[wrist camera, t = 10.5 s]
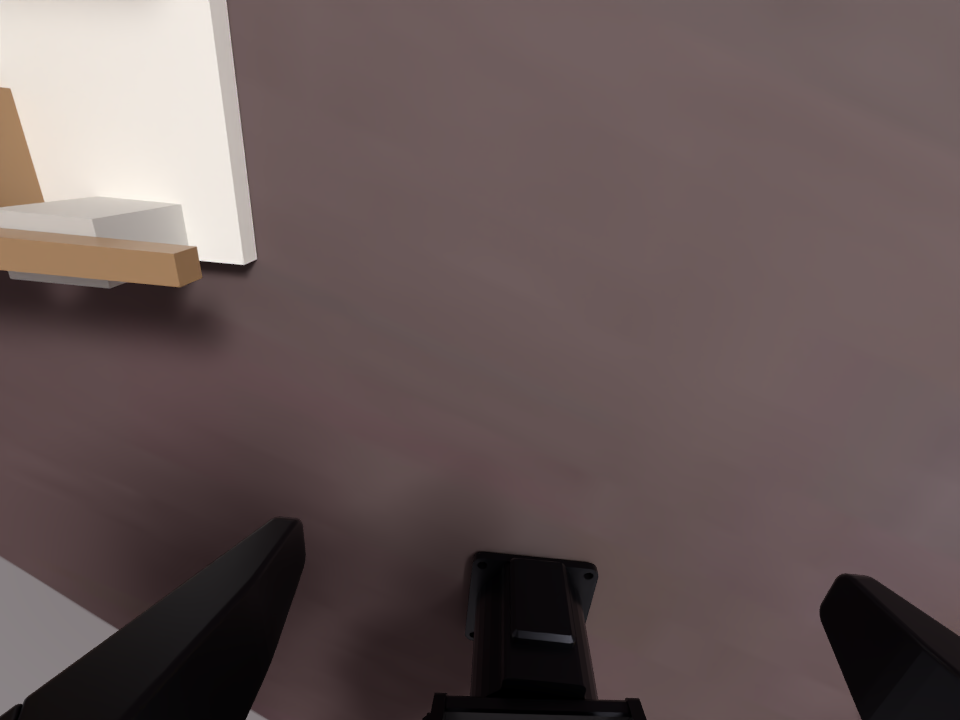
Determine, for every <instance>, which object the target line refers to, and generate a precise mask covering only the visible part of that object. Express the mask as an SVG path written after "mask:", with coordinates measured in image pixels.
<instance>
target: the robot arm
mask: <svg viewBox="0 0 960 720" xmlns="http://www.w3.org/2000/svg"><path fill="white" fill-rule="evenodd" d="M305 557H306V552H305V542H304V533H303V524H302V522H301V520H300V519H298V518H290V517H280V516H279V517H275V518H273V519H271V520H270V521H268V522H267V523H266V524H264V525H263V526H262V527H260V528H259V529H257V530H256V531H255V532H253V533H252V534H251V535H249V536H248V537H246V538H245V539H244V540H242V541H241V542H240V543H238V544H237V545H235V546H234V547H233V548H231V549H230V550H229V551H227V552H226V553H224V554H223V555H222V556H220V557H219V558H218V559H216V560H215V561H213V562H212V563H211V564H209V565H208V566H207V567H205V568H204V569H202V570H201V571H200V572H198V573H197V574H196V575H194V576H193V577H191V578H190V579H189V580H187V581H186V582H185V583H183V584H182V585H180V586H179V587H178V588H176V589H175V590H174V591H172V592H171V593H169V594H168V595H167V596H165V597H164V598H163V599H161V600H160V601H158V602H157V603H156V604H154V605H153V606H152V607H150V608H149V609H147V610H146V611H145V612H143V613H142V614H141V615H139V616H138V617H136V618H135V619H134V620H132V621H131V622H130V623H128V624H127V625H125V626H124V627H123V628H121V629H120V630H119V631H117V632H116V633H114V634H113V635H112V636H110V637H109V638H108V639H106V640H105V641H103V642H102V643H101V644H99V645H98V646H97V647H95V648H94V649H93V650H91V651H90V652H88V653H87V654H86V655H84V656H83V657H82V658H80V659H79V660H77V661H76V662H75V663H73V664H72V665H70V666H69V667H68V668H66V669H65V670H63V671H62V672H61V673H59V674H58V675H57V676H55V677H54V678H53V679H51V680H50V681H48V682H47V683H46V684H44V685H43V686H42V687H40V688H39V689H38V690H36V691H35V692H33V693H32V694H31V695H29V696H28V697H27V698H26V699H25V700H24V702H23V705H22V704H17V705H15V706H14V707H12V708H11V709H9V710H8V711H7V712H5V713H4V714H3V715H1V716H0V720H246V718H247V715H248V713H249V711H250V709H251V707H252V704H253V702H254V700H255V698H256V696H257V693H258V691H259V689H260V687H261V685H262V682H263V680H264V678H265V675H266V673H267V671H268V668H269V666H270V664H271V661H272V658H273V655H274V653H275V650H276V647H277V644H278V641H279V638H280V635H281V633H282V630H283V627H284V624H285V621H286V618H287V615H288V612H289V609H290V606H291V603H292V600H293V597H294V594H295V591H296V589H297V586H298V583H299V580H300V577H301V574H302V571H303V568H304V564H305ZM482 562H484V563H482ZM597 580H598V571H597V568H596V566H595V565H594V564H592V563H586V562H576V561H566V560H556V559H546V558H536V557H526V556H517V555H507V554H497V553H487V552H479V553H477V554H475V555H474V557H473V564H472V573H471V582H470V592H469V601H468V610H467V619H466V628H465V636H466V637H467V638H468V639H469V640H473V641H474V643H473V659H472V675H471V691H470V696H448V695H447V693H435V694H434V699H433V704H432V709H431V713H427V716H425V717H424V718H423V720H647V719H646V717H645V714H644V711H643V708H642V705H641V702H640V700H639V698H625V700H598V696H597V690H596V684H595V678H594V673H593V667H592V661H591V655H590V649H589V643H588V638H587V632H586V626H585V623H586V620H587V616H588V612H589V609H590V605H591V602H592V598H593V594H594V591H595V587H596V583H597ZM820 619H821V622H822V625H823V627H824V630H825V632H826V634H827V637H828V639H829V642H830V644H831V647H832V649H833V651H834V654H835V656H836V659H837V661H838V664H839V666H840V668H841V671H842V673H843V676H844V678H845V681H846V683H847V685H848V688H849V690H850V693H851V695H852V698H853V700H854V702H855V705H856V707H857V710H858V712H859V714H860V716H861V719H862V720H960V636H958V635H957V634H955V633H954V632H952V631H951V630H949V629H948V628H946V627H945V626H943V625H942V624H940V623H939V622H937V621H936V620H934V619H933V618H932V617H930V616H929V615H927V614H926V613H924V612H923V611H921V610H920V609H918V608H917V607H915V606H914V605H912V604H911V603H909V602H908V601H906V600H905V599H903V598H902V597H900V596H899V595H897V594H896V593H894V592H893V591H891V590H890V589H888V588H887V587H886V586H884V585H883V584H881V583H880V582H878V581H877V580H875V579H873V578H871V577H869V576H865V575H856V574H846V573H845V574H841V575H839V576H838V577H837V578H836V579H835V581H834V583H833V584H832V586H831V588H830V589H829V591H828V593H827V595H826V596H825V598H824V600H823V601H822V603H821V605H820Z"/></svg>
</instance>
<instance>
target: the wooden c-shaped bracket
mask: <svg viewBox="0 0 960 720" xmlns="http://www.w3.org/2000/svg"><path fill="white" fill-rule="evenodd" d="M43 202H44V199H43V195H42V192H41V189H40V185H39V182H38V179H37V175H36V172H35V169H34V165H33V162H32V159H31V155H30V152H29V149H28V145H27V142H26V139H25V135H24V132H23V129H22V125H21V122H20V119H19V115H18V112H17V109H16V105H15V102H14V99H13V95H12V92H11V89H10V88H3V87H0V207H7V206H16V205H25V204H34V203H43ZM0 270H5V271H16V272H26V273H37V274H47V275H58V276H68V277H79V278H89V279H99V280H110V281H120V282H131V283H141V284H152V285H162V286H173V287H182V286H184V285H187V284H189V283H191V282H194V281H196V280H198V279H201V278H202V273H201V268H200V262H199V256H198V250H197V246H186V245H176V244H165V243H155V242H144V241H134V240H123V239H113V238H102V237H92V236H81V235H71V234H60V233H49V232H39V231H28V230H18V229H7V228H0Z"/></svg>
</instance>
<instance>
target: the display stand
mask: <svg viewBox="0 0 960 720" xmlns="http://www.w3.org/2000/svg"><path fill="white" fill-rule="evenodd" d="M0 87H3V88H10V89H11V92H12V95H13V99H14V102H15V105H16V109H17V112H18V115H19V119H20V122H21V125H22V129H23V132H24V135H25V139H26V142H27V145H28V149H29V152H30V155H31V159H32V162H33V165H34V169H35V172H36V175H37V179H38V182H39V185H40V189H41V192H42V195H43V199H44V202H43V203H34V204H25V205H16V206H7V207H0V228H7V229H18V230H28V231H39V232H49V233H60V234H71V235H81V236H92V237H102V238H113V239H123V240H134V241H144V242H155V243H165V244H176V245H186V246H197V250H198V256H199V261H207V262H218V263H228V264H238V265H245V264H248V263H250V262H252V261H254V260H257V254H256V246H255V237H254V229H253V220H252V212H251V204H250V195H249V187H248V179H247V170H246V162H245V153H244V145H243V137H242V128H241V120H240V112H239V103H238V95H237V86H236V78H235V70H234V61H233V53H232V45H231V36H230V28H229V19H228V11H227V3H226V0H0ZM8 273H9V276H10V279H18V280H28V281H38V282H48V283H59V284H69V285H79V286H90V287H100V288H113V287H116V286H118V285H121V284H124V283H127V282H120V281H110V280H99V279H89V278H79V277H68V276H58V275H47V274H37V273H26V272H16V271H8Z"/></svg>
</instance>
